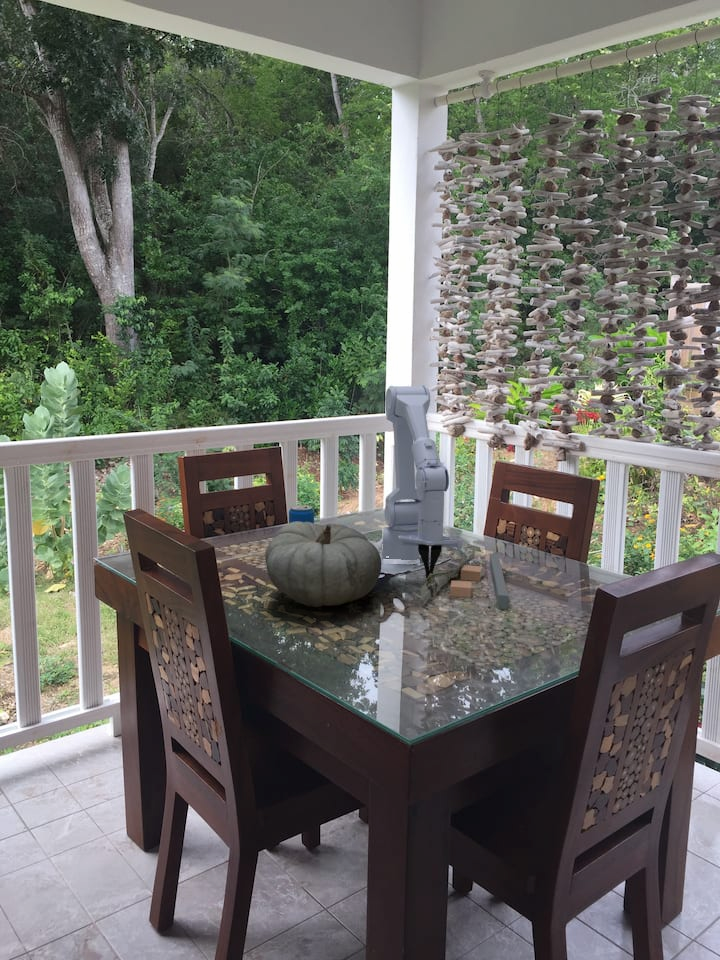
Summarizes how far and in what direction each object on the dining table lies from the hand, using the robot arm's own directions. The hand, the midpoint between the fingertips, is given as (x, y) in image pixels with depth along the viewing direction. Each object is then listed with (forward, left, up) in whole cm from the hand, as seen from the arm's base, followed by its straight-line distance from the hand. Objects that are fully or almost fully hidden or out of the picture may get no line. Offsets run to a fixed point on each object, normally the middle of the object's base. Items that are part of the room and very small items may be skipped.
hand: (429, 576), depth 189 cm
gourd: (-23, -15, -2) cm, 27 cm away
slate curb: (+16, 0, -1) cm, 16 cm away
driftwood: (+4, 0, -2) cm, 5 cm away
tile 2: (+10, +5, -2) cm, 11 cm away
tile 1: (+7, -7, -2) cm, 10 cm away
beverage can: (-33, +21, -2) cm, 39 cm away
